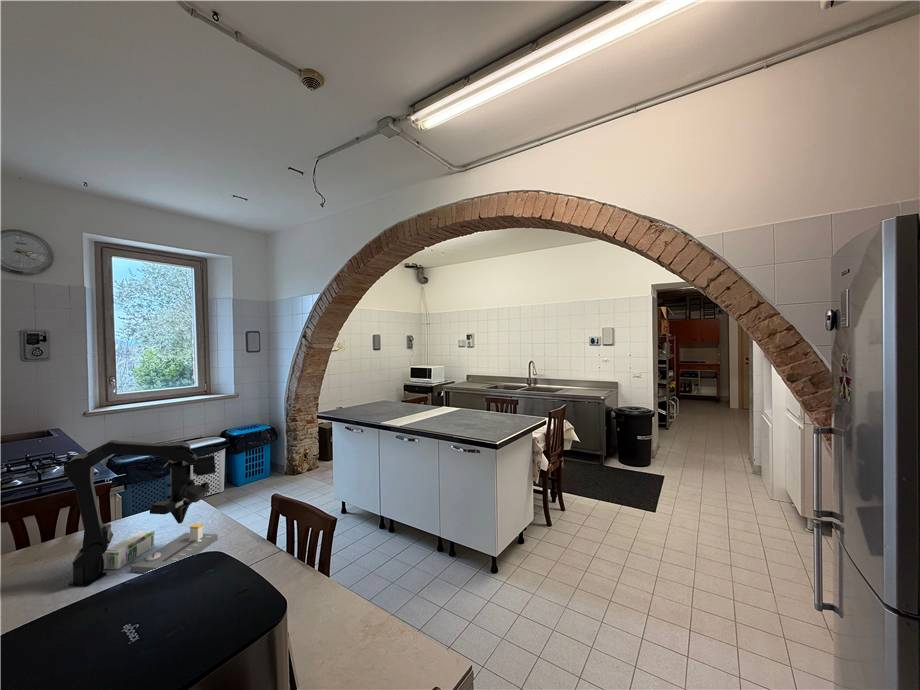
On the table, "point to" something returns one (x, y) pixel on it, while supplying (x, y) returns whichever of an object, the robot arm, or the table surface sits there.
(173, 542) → the console
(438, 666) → the table surface
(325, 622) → the table surface
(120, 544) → the syrup box
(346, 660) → the table surface
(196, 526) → the fader
